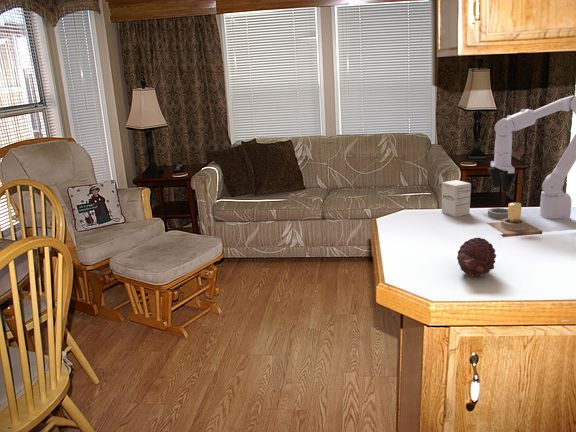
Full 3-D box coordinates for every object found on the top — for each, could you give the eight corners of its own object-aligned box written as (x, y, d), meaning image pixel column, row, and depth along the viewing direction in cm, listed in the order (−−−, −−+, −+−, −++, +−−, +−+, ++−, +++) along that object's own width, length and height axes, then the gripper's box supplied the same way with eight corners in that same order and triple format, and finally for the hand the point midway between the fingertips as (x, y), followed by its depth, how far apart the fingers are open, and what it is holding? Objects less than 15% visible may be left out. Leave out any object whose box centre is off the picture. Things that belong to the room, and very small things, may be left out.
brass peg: (509, 224, 188) (510, 201, 186) (521, 226, 185) (523, 203, 183) (505, 227, 185) (506, 204, 182) (517, 229, 182) (519, 205, 180)
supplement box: (440, 215, 207) (441, 182, 203) (456, 212, 210) (457, 179, 206) (454, 219, 200) (455, 185, 197) (470, 216, 203) (471, 182, 200)
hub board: (522, 223, 192) (522, 214, 191) (542, 234, 179) (542, 225, 179) (486, 225, 191) (486, 217, 190) (503, 237, 178) (504, 228, 178)
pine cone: (458, 260, 160) (460, 227, 157) (495, 263, 156) (497, 230, 154) (454, 283, 144) (455, 247, 141) (494, 287, 140) (496, 250, 138)
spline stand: (505, 214, 203) (505, 206, 202) (517, 221, 194) (517, 213, 194) (481, 216, 202) (482, 208, 201) (492, 223, 194) (493, 214, 193)
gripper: (483, 150, 205) (481, 185, 208) (501, 156, 191) (499, 194, 195) (501, 148, 205) (499, 184, 209) (521, 154, 191) (518, 193, 195)
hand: (500, 189), depth 202 cm, fingers open, 7 cm apart
